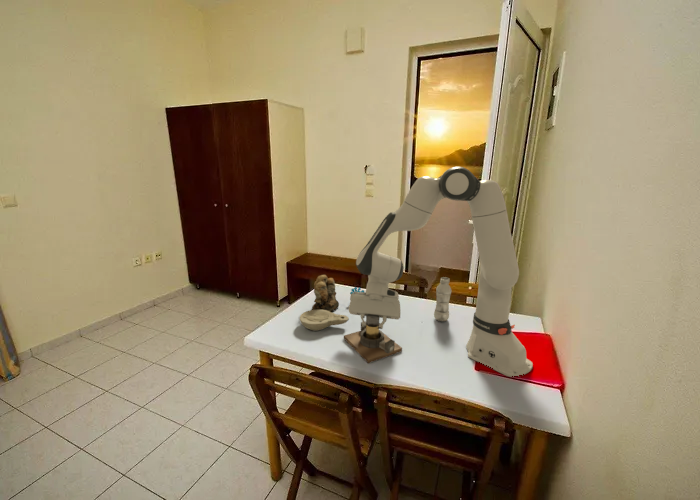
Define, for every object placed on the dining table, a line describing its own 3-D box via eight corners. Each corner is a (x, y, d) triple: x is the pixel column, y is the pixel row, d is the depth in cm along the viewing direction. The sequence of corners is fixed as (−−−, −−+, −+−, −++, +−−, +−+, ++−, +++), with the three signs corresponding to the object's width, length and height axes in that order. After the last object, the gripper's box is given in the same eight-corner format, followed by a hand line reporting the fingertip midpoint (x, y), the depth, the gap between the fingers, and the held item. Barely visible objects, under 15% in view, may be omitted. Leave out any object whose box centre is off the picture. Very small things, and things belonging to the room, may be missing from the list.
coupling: (381, 339, 117) (382, 318, 114) (370, 342, 114) (370, 321, 112) (374, 333, 121) (374, 312, 119) (363, 336, 119) (363, 315, 116)
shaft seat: (402, 352, 114) (403, 339, 113) (369, 363, 107) (369, 351, 106) (374, 329, 130) (374, 318, 129) (343, 338, 123) (343, 326, 121)
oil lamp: (348, 318, 139) (349, 308, 137) (348, 335, 125) (348, 324, 124) (303, 318, 139) (302, 307, 138) (297, 334, 125) (296, 323, 124)
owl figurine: (329, 318, 139) (328, 283, 135) (305, 314, 143) (304, 279, 139) (343, 302, 156) (343, 270, 151) (322, 299, 159) (321, 268, 155)
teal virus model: (356, 305, 148) (348, 287, 152) (349, 310, 152) (342, 292, 156) (372, 302, 155) (365, 285, 159) (366, 307, 159) (359, 290, 163)
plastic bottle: (451, 321, 137) (456, 280, 132) (439, 324, 135) (443, 281, 130) (442, 315, 143) (446, 275, 138) (430, 317, 140) (434, 277, 135)
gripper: (350, 288, 122) (344, 321, 115) (402, 293, 118) (399, 328, 111) (352, 294, 127) (346, 326, 121) (401, 299, 123) (399, 333, 116)
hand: (372, 327), depth 116 cm, fingers closed on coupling, 5 cm apart
